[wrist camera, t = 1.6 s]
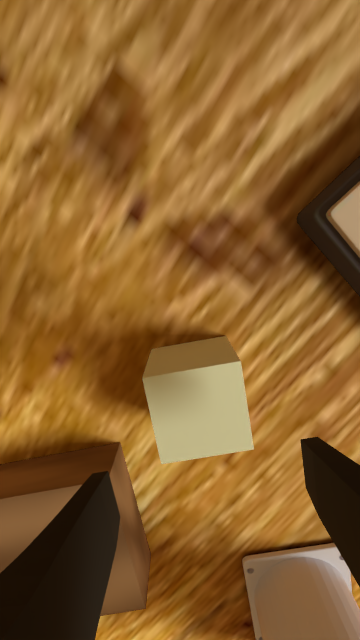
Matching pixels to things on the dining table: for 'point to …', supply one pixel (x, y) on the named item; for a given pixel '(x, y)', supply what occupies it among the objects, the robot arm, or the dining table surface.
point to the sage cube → (197, 400)
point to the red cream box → (337, 223)
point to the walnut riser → (53, 494)
